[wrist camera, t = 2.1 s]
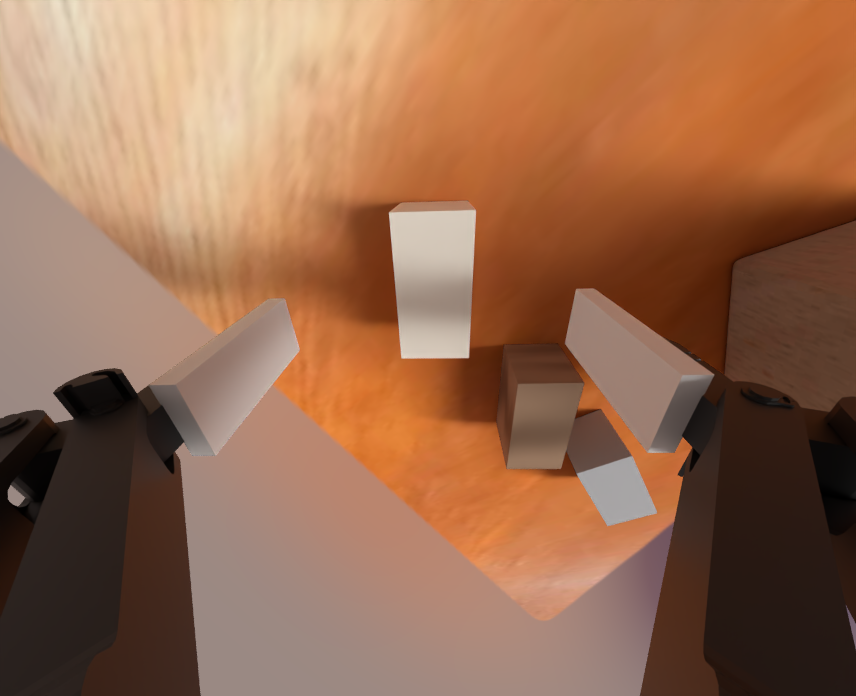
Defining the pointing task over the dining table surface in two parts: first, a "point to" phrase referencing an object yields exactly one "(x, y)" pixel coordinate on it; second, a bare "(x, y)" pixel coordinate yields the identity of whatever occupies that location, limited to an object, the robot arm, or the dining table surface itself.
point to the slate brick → (607, 470)
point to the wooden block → (797, 318)
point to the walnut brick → (536, 405)
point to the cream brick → (433, 276)
